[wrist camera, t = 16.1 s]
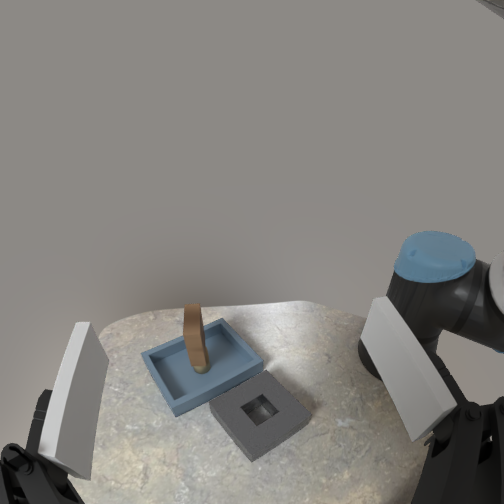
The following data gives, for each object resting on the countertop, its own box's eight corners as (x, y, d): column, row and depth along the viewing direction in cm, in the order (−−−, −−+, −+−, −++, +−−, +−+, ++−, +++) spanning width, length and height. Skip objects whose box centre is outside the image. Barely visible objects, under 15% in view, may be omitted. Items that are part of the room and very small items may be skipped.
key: (193, 353, 47) (182, 304, 41) (209, 352, 47) (201, 303, 41) (193, 382, 42) (180, 335, 36) (211, 381, 42) (202, 334, 36)
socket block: (265, 382, 43) (266, 369, 41) (307, 424, 36) (311, 413, 34) (211, 412, 38) (208, 401, 36) (251, 462, 31) (251, 455, 29)
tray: (223, 329, 53) (222, 317, 51) (262, 371, 45) (263, 360, 43) (145, 364, 45) (140, 353, 43) (175, 417, 37) (171, 408, 35)
